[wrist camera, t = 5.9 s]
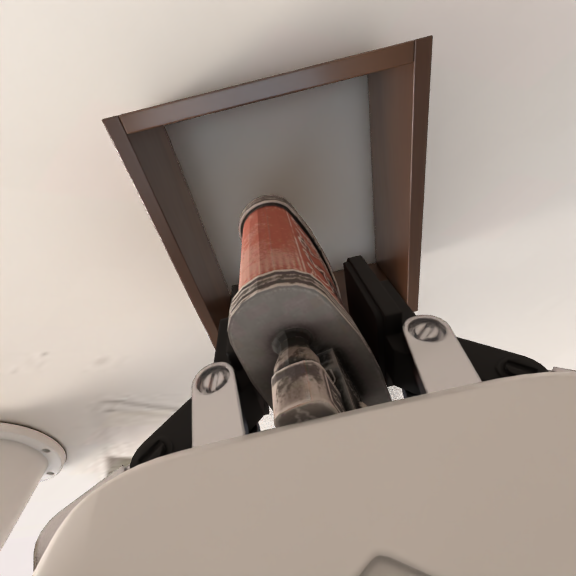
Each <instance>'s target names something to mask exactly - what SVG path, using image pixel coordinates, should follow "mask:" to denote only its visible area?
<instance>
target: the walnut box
mask: <svg viewBox="0 0 576 576" xmlns="http://www.w3.org/2000/svg"><path fill="white" fill-rule="evenodd" d="M432 39H433V36H432V35H431V36H427V37H423V38H419V39H415V40H412V41H408V42H404V43H400V44H396V45H392V46H388V47H384V48H380V49H376V50H372V51H368V52H365V53H361V54H357V55H353V56H349V57H345V58H341V59H337V60H333V61H329V62H325V63H321V64H317V65H314V66H310V67H306V68H302V69H298V70H294V71H290V72H286V73H282V74H278V75H274V76H270V77H266V78H262V79H259V80H255V81H251V82H247V83H243V84H239V85H235V86H231V87H227V88H223V89H219V90H215V91H211V92H208V93H204V94H200V95H196V96H192V97H188V98H184V99H180V100H176V101H172V102H168V103H164V104H160V105H157V106H153V107H149V108H145V109H141V110H137V111H133V112H129V113H125V114H121V115H118V116H113V117H109V118H105V119H103V120H102V122H103V124H104V126H105V128H106V130H107V132H108V134H109V136H110V138H111V140H112V142H113V144H114V146H115V148H116V150H117V152H118V154H119V156H120V158H121V160H122V162H123V164H124V166H125V168H126V170H127V172H128V174H129V176H130V178H131V180H132V182H133V184H134V186H135V188H136V190H137V192H138V194H139V196H140V198H141V200H142V202H143V205H144V207H145V209H146V211H147V213H148V215H149V217H150V219H151V221H152V223H153V225H154V227H155V229H156V231H157V233H158V235H159V237H160V239H161V241H162V243H163V245H164V247H165V249H166V251H167V253H168V255H169V257H170V259H171V261H172V263H173V265H174V267H175V269H176V271H177V273H178V275H179V277H180V279H181V281H182V283H183V285H184V287H185V289H186V291H187V293H188V295H189V298H190V300H191V302H192V304H193V306H194V308H195V310H196V312H197V314H198V316H199V318H200V320H201V322H202V324H203V326H204V328H205V330H206V332H207V334H208V336H209V338H210V340H211V342H212V344H213V346H214V348H215V350H216V344H217V337H218V330H219V323H220V320H221V319H224V318H228V317H229V311H230V305H231V295H230V292H229V290H228V287H227V285H226V282H225V280H224V277H223V275H222V272H221V269H220V267H219V264H218V262H217V259H216V257H215V254H214V252H213V249H212V247H211V244H210V242H209V239H208V236H207V234H206V231H205V229H204V226H203V224H202V221H201V219H200V216H199V214H198V211H197V208H196V206H195V203H194V201H193V198H192V196H191V193H190V191H189V188H188V186H187V183H186V181H185V178H184V175H183V173H182V170H181V168H180V165H179V163H178V160H177V158H176V155H175V153H174V150H173V148H172V145H171V142H170V140H169V137H168V135H167V132H166V130H165V127H164V125H168V124H172V123H176V122H180V121H184V120H188V119H192V118H196V117H200V116H204V115H207V114H211V113H215V112H219V111H223V110H227V109H231V108H235V107H239V106H243V105H247V104H251V103H255V102H259V101H263V100H267V99H271V98H275V97H279V96H283V95H287V94H291V93H295V92H299V91H303V90H307V89H311V88H315V87H319V86H323V85H327V84H331V83H335V82H339V81H342V80H346V79H350V78H354V77H358V76H362V75H366V74H368V86H369V110H370V133H371V156H372V179H373V203H374V226H375V249H376V263H372V264H368V265H369V267H370V268H371V270H372V271H373V272H374V274H375V275H376V276H377V278H378V279H379V280H380V282H381V281H385V280H388V281H389V282H390V283H391V284H392V285H393V287H394V288H395V289H396V290H397V292H398V293H399V294H400V296H401V297H402V298H403V299H404V301H405V302H406V303H407V305H408V306H409V307H410V308H411V310H412V311H413V312H415V311H418V294H419V276H420V258H421V239H422V221H423V203H424V185H425V166H426V148H427V130H428V112H429V93H430V75H431V57H432ZM333 274H334V277H335V280H336V282H337V285H338V288H339V291H340V296H341V300H342V303H343V305H344V307H345V309H346V311H347V313H348V314H349V309H348V301H347V292H346V284H345V275H344V270H341V271H337V272H333Z"/></svg>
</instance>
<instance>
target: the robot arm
mask: <svg viewBox="0 0 576 576" xmlns="http://www.w3.org/2000/svg"><path fill="white" fill-rule="evenodd" d="M343 267H344V275H345V284H346V292H347V301H348V309H349V315H350V317H351V318H352V320H353V321H354V323H355V324H356V326H357V328H358V329H359V331H360V333H361V334H362V336H363V338H364V339H365V341H366V342H367V344H368V346H369V347H370V349H371V351H372V352H373V354H374V357H375V359H376V361H377V363H378V365H379V367H380V369H381V371H382V374H383V377H384V380H385V383H386V385H387V387H389V386H393V385H395V386H397V387H400V388H402V392H403V396H404V399H400V400H395V401H391V402H386V403H382V404H377V405H373V406H369V407H364V408H360V409H355V410H351V411H346V412H342V413H338V414H333V415H329V416H324V417H320V418H316V419H311V420H307V421H303V422H298V423H294V424H290V425H285V426H281V427H277V428H272V429H268V430H264V431H260V427H259V424H258V422H259V420H260V419H261V418H262V417H263V416H264V415H267V414H269V405H268V403H267V402H266V401H265V399H264V398H263V397H262V395H261V394H260V393H259V391H258V390H257V389H256V388H255V386H254V385H253V384H252V382H251V381H250V379H249V377H248V375H247V373H246V371H245V369H244V368H243V366H242V364H241V362H240V360H239V358H238V356H237V355H236V353H235V351H234V349H233V347H232V345H231V343H230V340H229V336H228V332H227V329H228V320H229V317H228V318H224V319H221V320H220V323H219V330H218V337H217V344H216V351H215V358H214V363H212V364H210V365H208V366H206V367H204V368H203V369H202V370H200V371H199V372H198V374H197V375H196V376H195V378H194V380H193V382H192V397H191V398H190V399H189V400H188V401H187V402H186V403H185V404H184V405H183V406H182V407H181V408H180V409H179V410H177V411H176V412H175V413H174V414H173V415H172V416H171V417H170V418H169V419H168V420H167V421H166V422H165V423H164V424H163V425H162V426H161V427H159V428H158V429H157V430H156V431H155V432H154V433H153V434H152V435H151V436H150V437H149V438H148V439H147V440H146V441H145V442H144V443H143V444H142V445H141V446H140V447H139V448H138V449H137V451H136V452H135V454H134V456H133V457H132V460H131V463H130V464H129V465H128V466H127V467H125V466H124V465H122V466H120V467H119V468H118V469H116V470H115V471H114V472H112V473H111V474H110V475H108V476H107V477H106V478H104V479H103V480H102V481H100V482H99V483H97V484H96V485H95V486H93V487H92V488H91V489H89V490H88V491H87V492H85V493H84V494H83V495H81V496H80V497H79V498H77V499H76V500H75V501H73V502H72V503H71V504H69V505H68V506H67V507H65V508H64V509H63V510H61V511H60V512H59V513H57V514H56V515H55V516H54V517H53V518H52V519H51V520H50V521H49V522H48V523H47V525H46V526H45V527H44V529H43V530H42V531H41V533H40V535H39V537H38V539H37V541H36V544H35V549H34V568H33V575H32V576H576V370H570V369H564V368H558V367H553V369H552V370H547V369H546V368H545V367H544V366H543V365H541V364H540V363H538V362H536V361H535V360H533V359H530V358H528V357H525V356H522V355H518V354H515V353H511V352H508V351H504V350H501V349H497V348H494V347H490V346H487V345H483V344H480V343H476V342H472V341H469V340H465V339H462V338H458V337H456V336H455V334H454V332H453V331H452V329H451V327H450V326H449V325H448V324H447V322H445V321H444V320H442V319H441V318H438V317H435V316H431V315H417V316H416V315H415V313H414V312H413V311H412V310H411V308H410V307H409V306H408V305H407V303H406V302H405V301H404V299H403V298H402V297H401V296H400V294H399V293H398V292H397V290H396V289H395V288H394V287H393V285H392V284H391V283H390V282H389V281H388V280H385V281H381V282H380V280H379V279H378V278H377V276H376V275H375V274H374V272H373V271H372V270H371V268H370V267H369V265H368V264H367V263H366V261H365V260H364V259H363V257H362V256H361V255H359V256H355V257H351V258H348V259H347V262H345V263H343ZM238 291H239V284H238V285H234V286H232V295H231V304H232V300H233V298H234V296H235V295H236V294H237V292H238ZM230 307H231V305H230ZM65 461H66V454H65V451H64V450H63V448H62V447H61V445H60V444H58V443H57V442H56V441H55V440H54V439H52V438H50V437H49V436H47V435H45V434H43V433H41V432H39V431H36V430H33V429H30V428H27V427H23V426H19V425H15V424H8V423H0V551H1V549H2V547H3V546H4V544H5V542H6V540H7V539H8V537H9V535H10V533H11V531H12V530H13V528H14V526H15V524H16V523H17V521H18V519H19V517H20V516H21V514H22V512H23V510H24V508H25V507H26V505H27V503H28V501H29V500H30V498H31V496H32V494H33V492H34V491H35V489H36V487H37V485H38V484H39V482H41V481H45V480H48V479H50V478H52V477H54V476H55V475H57V474H58V473H59V472H60V471H61V469H62V467H63V465H64V463H65Z"/></svg>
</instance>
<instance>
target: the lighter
mask: <svg viewBox="0 0 576 576" xmlns="http://www.w3.org/2000/svg"><path fill="white" fill-rule="evenodd" d="M238 230H239V236H240V239H241V242H242V250H241V263H240V277H239V291H238V292H237V294H236V295H235V296H234V298H233V300H232V304H231V307H230V311H229V320H228V329H227V332H228V336H229V340H230V343H231V345H232V347H233V349H234V351H235V353H236V355H237V356H238V358H239V360H240V362H241V364H242V366H243V368H244V369H245V371H246V373H247V375H248V377H249V379H250V381H251V382H252V384H253V385H254V386H255V388H256V389H257V390H258V391H259V393H260V394H261V395H262V397H263V398H264V399H265V401H266V402H267V403H268V405H269V406H270V407H271V409H272V410H273V413H274V425H275V427H276V428H277V427H281V426H285V425H290V424H294V423H298V422H303V421H307V420H311V419H316V418H320V417H324V416H329V415H333V414H338V413H342V412H346V411H351V410H355V409H360V408H364V407H369V406H373V405H377V404H382V403H386V402H391V401H392V400H391V397H390V394H389V391H388V389H387V386H386V383H385V380H384V377H383V374H382V371H381V369H380V367H379V365H378V363H377V361H376V359H375V357H374V354H373V352H372V351H371V349H370V347H369V346H368V344H367V342H366V341H365V339H364V338H363V336H362V334H361V333H360V331H359V329H358V328H357V326H356V324H355V323H354V321H353V320H352V318H351V317H350V315H349V314H348V313H347V311H346V309H345V307H344V305H343V303H342V300H341V296H340V291H339V288H338V285H337V282H336V280H335V277H334V274H333V272H332V269H331V266H330V264H329V262H328V259H327V257H326V255H325V254H324V252H323V250H322V248H321V247H320V245H319V243H318V242H317V240H316V238H315V236H314V235H313V233H312V231H311V230H310V228H309V227H308V226H307V224H306V223H305V222H304V220H303V219H302V218H301V216H300V215H299V214H298V213H297V211H296V210H295V209H294V207H293V206H292V205H291V204H290V203H289V202H288V201H287V200H286V199H284V198H282V197H279V196H276V195H265V196H262V197H259V198H256V199H254V200H253V201H252V202H250V203H249V204H248V205H247V206H246V207H245V209H244V210H243V211H242V213H241V217H240V221H239V228H238Z"/></svg>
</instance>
